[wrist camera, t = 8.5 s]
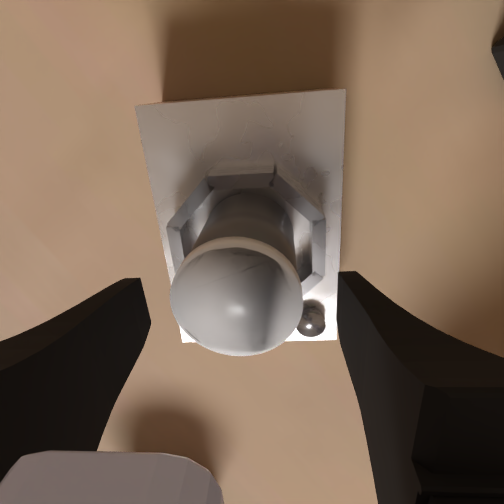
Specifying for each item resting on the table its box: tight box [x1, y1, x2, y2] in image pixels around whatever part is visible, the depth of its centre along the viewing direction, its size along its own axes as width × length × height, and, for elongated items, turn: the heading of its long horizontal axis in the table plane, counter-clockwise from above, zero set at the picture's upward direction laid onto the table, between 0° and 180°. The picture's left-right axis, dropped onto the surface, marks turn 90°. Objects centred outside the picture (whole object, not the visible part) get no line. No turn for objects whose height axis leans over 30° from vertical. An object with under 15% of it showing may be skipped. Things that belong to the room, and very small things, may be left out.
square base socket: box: [134, 88, 346, 342], centre depth 18 cm, size 13×9×6 cm
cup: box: [170, 193, 303, 356], centre depth 15 cm, size 5×5×6 cm
